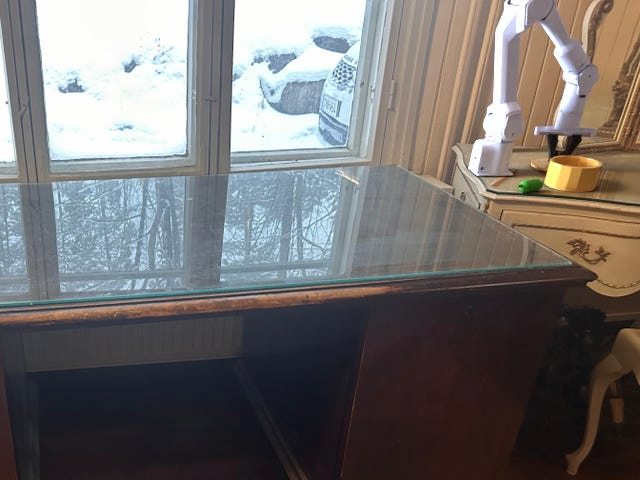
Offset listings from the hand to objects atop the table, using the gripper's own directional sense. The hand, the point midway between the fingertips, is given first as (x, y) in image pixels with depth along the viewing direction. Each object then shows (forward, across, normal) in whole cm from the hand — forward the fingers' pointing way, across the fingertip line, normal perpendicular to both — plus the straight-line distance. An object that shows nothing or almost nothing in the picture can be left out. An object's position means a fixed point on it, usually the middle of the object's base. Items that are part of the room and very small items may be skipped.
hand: (556, 162), depth 186 cm
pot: (+2, +1, -15) cm, 15 cm away
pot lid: (+1, 0, 0) cm, 1 cm away
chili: (+2, -9, -23) cm, 25 cm away
